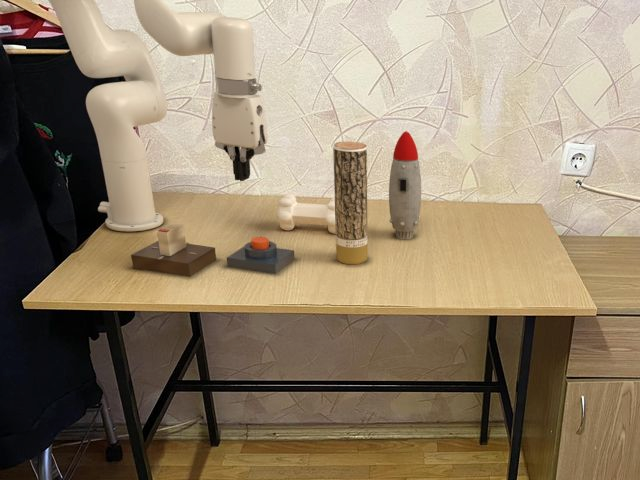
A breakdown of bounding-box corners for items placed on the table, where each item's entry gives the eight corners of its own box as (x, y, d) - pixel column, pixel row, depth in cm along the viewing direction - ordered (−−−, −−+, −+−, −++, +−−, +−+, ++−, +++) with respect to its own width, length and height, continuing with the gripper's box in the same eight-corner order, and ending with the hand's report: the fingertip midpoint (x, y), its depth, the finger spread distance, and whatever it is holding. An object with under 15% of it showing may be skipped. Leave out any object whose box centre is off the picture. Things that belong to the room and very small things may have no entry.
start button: (248, 249, 150) (247, 241, 150) (256, 243, 154) (256, 235, 153) (264, 251, 150) (263, 243, 149) (272, 245, 153) (271, 238, 152)
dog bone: (347, 226, 178) (346, 194, 174) (339, 238, 170) (339, 204, 166) (286, 222, 178) (284, 190, 174) (277, 233, 170) (274, 200, 166)
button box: (227, 267, 150) (225, 249, 149) (248, 253, 158) (247, 235, 156) (275, 274, 149) (274, 256, 147) (294, 259, 156) (293, 242, 154)
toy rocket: (386, 241, 170) (386, 133, 158) (391, 230, 177) (391, 126, 165) (418, 243, 170) (420, 136, 158) (421, 232, 177) (424, 128, 165)
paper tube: (372, 257, 160) (372, 144, 148) (359, 267, 154) (357, 150, 143) (345, 252, 162) (342, 140, 150) (330, 262, 156) (327, 146, 144)
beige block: (177, 245, 152) (173, 221, 149) (186, 246, 151) (183, 222, 149) (160, 254, 146) (156, 230, 144) (170, 256, 146) (166, 231, 143)
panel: (132, 268, 147) (130, 254, 145) (162, 252, 156) (160, 238, 154) (189, 277, 145) (187, 263, 143) (216, 260, 153) (215, 246, 152)
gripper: (280, 89, 143) (283, 180, 151) (212, 79, 145) (219, 169, 154) (261, 94, 136) (266, 189, 145) (190, 84, 139) (199, 178, 148)
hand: (242, 178), depth 149 cm, fingers closed
